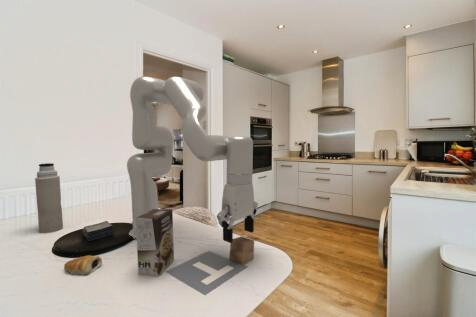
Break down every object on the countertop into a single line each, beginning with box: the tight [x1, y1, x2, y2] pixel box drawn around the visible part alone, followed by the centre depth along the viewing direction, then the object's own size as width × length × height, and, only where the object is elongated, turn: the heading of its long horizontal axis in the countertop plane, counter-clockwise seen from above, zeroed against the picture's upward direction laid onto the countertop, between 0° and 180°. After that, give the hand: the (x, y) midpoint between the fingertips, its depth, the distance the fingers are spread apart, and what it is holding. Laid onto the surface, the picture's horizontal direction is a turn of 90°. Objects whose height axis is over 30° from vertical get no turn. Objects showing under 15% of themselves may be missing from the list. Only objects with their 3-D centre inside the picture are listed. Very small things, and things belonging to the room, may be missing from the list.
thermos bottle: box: [34, 162, 64, 234], centre depth 99 cm, size 8×8×28 cm
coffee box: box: [136, 208, 175, 278], centre depth 67 cm, size 9×6×16 cm
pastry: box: [63, 254, 103, 276], centre depth 68 cm, size 9×7×4 cm
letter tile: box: [165, 250, 248, 296], centre depth 66 cm, size 16×16×1 cm
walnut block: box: [229, 236, 255, 266], centre depth 71 cm, size 5×5×6 cm
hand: (238, 236), depth 71 cm, fingers open, 9 cm apart
